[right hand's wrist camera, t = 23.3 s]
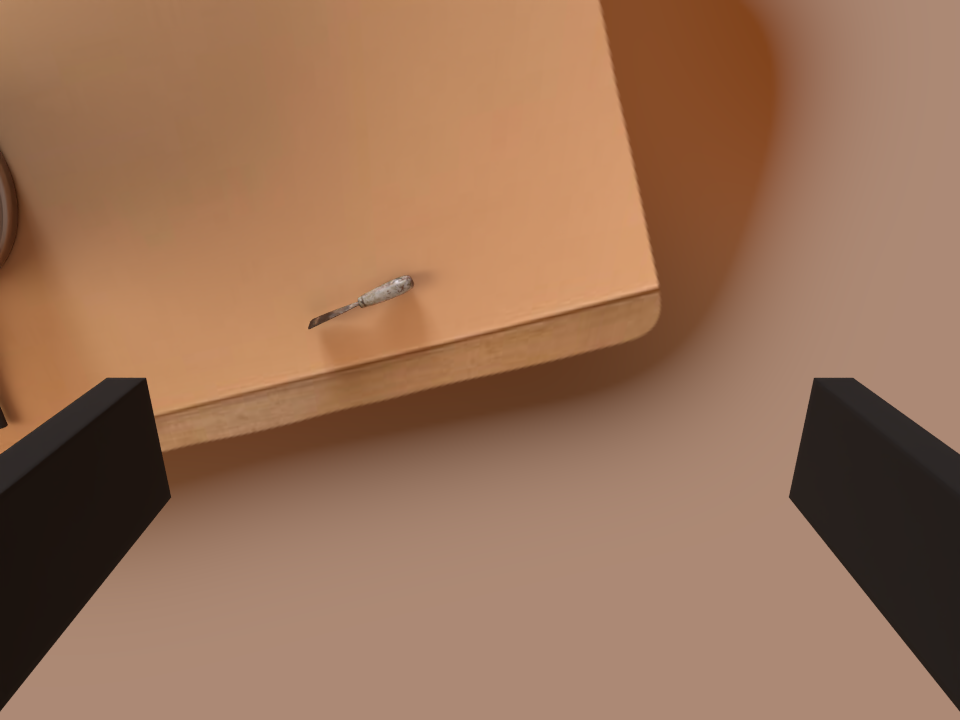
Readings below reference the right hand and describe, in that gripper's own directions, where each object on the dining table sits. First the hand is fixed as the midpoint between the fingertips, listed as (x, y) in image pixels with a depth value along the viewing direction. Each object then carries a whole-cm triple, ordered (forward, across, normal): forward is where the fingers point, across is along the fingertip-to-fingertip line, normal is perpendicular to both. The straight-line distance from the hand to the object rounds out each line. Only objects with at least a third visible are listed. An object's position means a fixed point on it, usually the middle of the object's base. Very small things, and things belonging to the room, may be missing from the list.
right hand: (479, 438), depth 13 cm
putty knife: (+32, +8, +6) cm, 34 cm away
